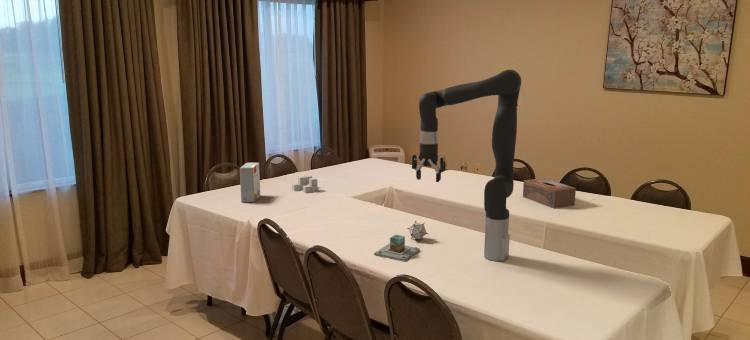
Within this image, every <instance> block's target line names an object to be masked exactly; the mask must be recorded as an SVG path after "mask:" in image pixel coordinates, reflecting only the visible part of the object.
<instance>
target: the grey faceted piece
mask: <svg viewBox="0 0 750 340" xmlns="http://www.w3.org/2000/svg"><path fill="white" fill-rule="evenodd" d="M406 229H408V230H409V233H410V236H411V237H410V239H415V240H418V241H419V242H421V240H422V238H423V237H425V236H426V235H429V233H428V232H427V229H426V227H425V222H424V223H420V222H417V220H415V221H414V223H413V224H412V225H411V226H409V227H407V228H406Z"/></svg>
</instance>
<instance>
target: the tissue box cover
mask: <svg viewBox="0 0 750 340" xmlns="http://www.w3.org/2000/svg"><path fill="white" fill-rule="evenodd" d="M522 186H523V187H522V188H523V189H522V198H525V199H528V200H529V201H532V202H535V203H537V204H541V205H543V206H546V207H549V208H551V209H553V210H554V209H561V208H567V207H573V206H575V205H576V204H575V203H576V191H577V188H576V187H573V186H569V185H567V184H564V183H560V182H557V181H554V180H552V179H547V178H545V177H542V178H541V177H540V178H534V179H527V180H526V179H525V180H523V185H522Z"/></svg>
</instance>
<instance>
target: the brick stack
mask: <svg viewBox="0 0 750 340" xmlns="http://www.w3.org/2000/svg"><path fill="white" fill-rule="evenodd" d="M389 243H390V251H392V252H397V253H401V252H402V251H404V250H405V246H406V244H405V243H406V238H405V235H400V234H394V235H392V236H390V237H389Z"/></svg>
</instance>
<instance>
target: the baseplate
mask: <svg viewBox="0 0 750 340" xmlns="http://www.w3.org/2000/svg"><path fill="white" fill-rule="evenodd" d="M420 251H421V249H420V247H417V246H411V245H405V250H404V251H402V252H401V253H397V252H392V251H390V242H389V243H388V244H386V245H385V246H383V247H382V248H380V249H378V250H377V251H375V252H374V253H373V254H374V256H377V257H380V258H381V257H382V258H387V259H390V260H395V261H400V262H406V261H407V260H409V259H410V258H412V256H414V255H416V254H417V253H419V252H420Z"/></svg>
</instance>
